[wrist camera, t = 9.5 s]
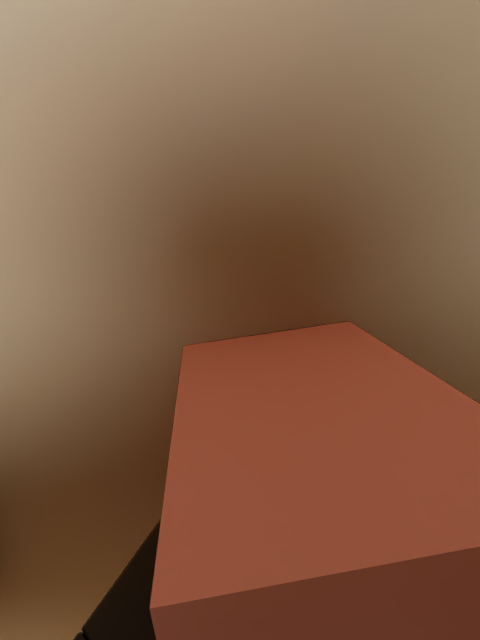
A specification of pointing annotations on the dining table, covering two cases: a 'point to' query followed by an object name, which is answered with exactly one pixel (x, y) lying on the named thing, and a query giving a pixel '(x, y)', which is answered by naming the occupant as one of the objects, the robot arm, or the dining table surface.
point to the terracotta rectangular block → (318, 495)
